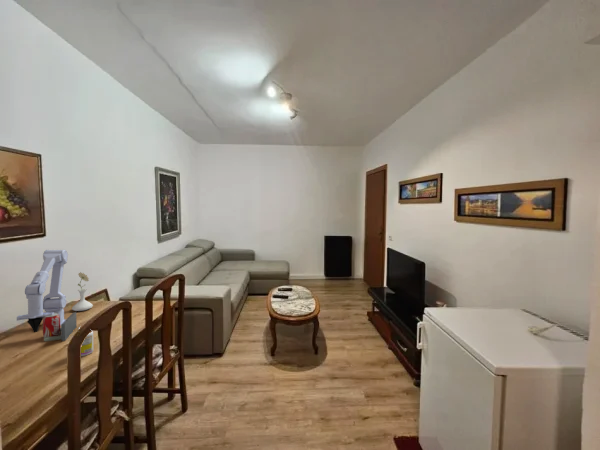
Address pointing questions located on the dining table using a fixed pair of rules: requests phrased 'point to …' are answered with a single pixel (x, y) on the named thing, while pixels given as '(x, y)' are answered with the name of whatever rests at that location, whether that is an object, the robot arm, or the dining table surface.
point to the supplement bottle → (87, 344)
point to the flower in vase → (82, 296)
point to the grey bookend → (65, 329)
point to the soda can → (51, 325)
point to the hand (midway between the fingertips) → (35, 331)
